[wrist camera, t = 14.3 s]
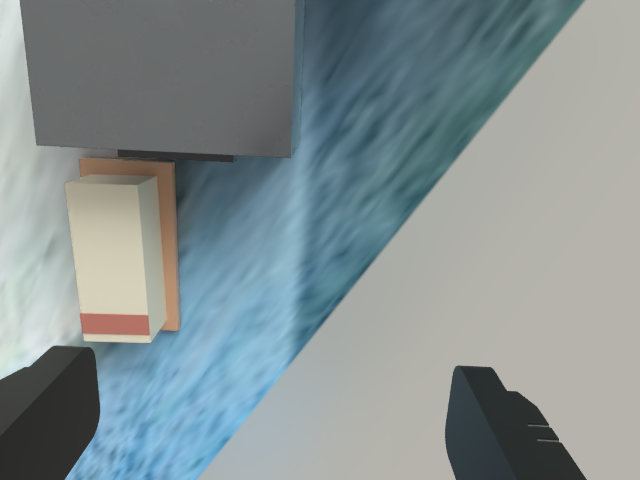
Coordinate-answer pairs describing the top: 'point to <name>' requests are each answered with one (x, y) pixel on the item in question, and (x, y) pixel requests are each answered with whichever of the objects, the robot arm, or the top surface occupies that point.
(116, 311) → the cream box
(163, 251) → the tile
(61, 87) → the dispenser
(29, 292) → the top surface
